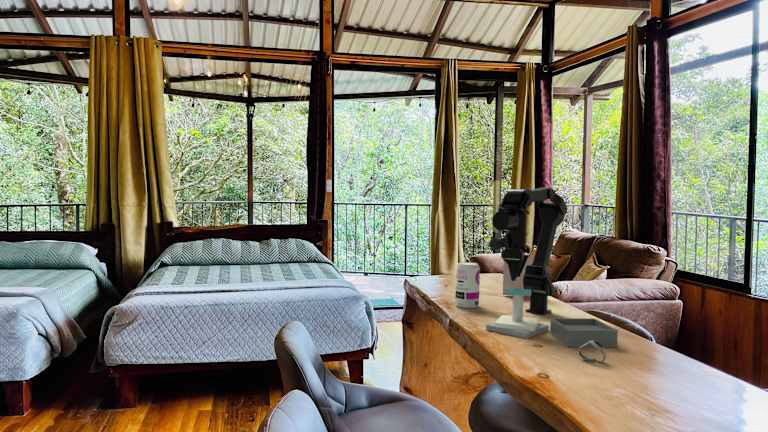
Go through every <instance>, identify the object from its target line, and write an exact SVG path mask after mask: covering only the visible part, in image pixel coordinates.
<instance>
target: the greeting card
mask: <svg viewBox="0 0 768 432" xmlns="http://www.w3.org/2000/svg"><path fill="white" fill-rule="evenodd" d="M533 261H534V258H533V257H528V259H527V262H526V264H525V266H524V268H523V271H522V273H521V275H520V277H517V278H516V280H515V281H512V280H511V276H510V272H509V267H508V264H507V263H506V262H505V261H504V260H503V266H502V267H503V268H502V269H503V271H502V274H503V275H502V296H503V295H513V294H506V288H517V289H524V286H523V277H524V274H525V269H526V266H527V265H531V264H532V263H533ZM524 297H527V296H526V295H524Z"/></svg>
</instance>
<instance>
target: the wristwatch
mask: <svg viewBox="0 0 768 432" xmlns="http://www.w3.org/2000/svg"><path fill="white" fill-rule="evenodd" d="M588 344H591V345H593V347H592V348H594V349H596V350H598V351H599V352H600V353H601V354H602V357H603V359H602V360H597V359H596V358H592V357H589V356H587V355H584V354H583V353H582V351H581V349H583V348H585V347H584V346H586V345H588ZM578 355H579V357H580V358H582V360H583V361H586V362H589V363H594V362H597V363H596V364H602V363H603V362H605V361H606V358H607V355H606V351H605V347H603V346H602V345H601V344H600V343H598V342H597V341H589V342H587V343H586V344H584V345H582V346H580V347H578Z"/></svg>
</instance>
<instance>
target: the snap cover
mask: <svg viewBox="0 0 768 432" xmlns="http://www.w3.org/2000/svg"><path fill="white" fill-rule="evenodd" d="M506 294H513V296H512V309H511V310H512V312H511V313H512V314H511V315H505V314H502V315H500V317H499V318H498V319H497V320H496V321H494V322H495V327H499V328H508V329H517V330H526V331H535V329H536V328H537V326H538V324H539V323H540V318H535V317H528V316H527V317H525V316H524V297H530V295H531V290H529V289H517V288H506ZM524 295H526V296H524Z"/></svg>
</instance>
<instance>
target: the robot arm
mask: <svg viewBox="0 0 768 432" xmlns="http://www.w3.org/2000/svg"><path fill="white" fill-rule="evenodd" d="M535 202H537V205H536V206H537V209H538V210H539V217H540V220H541V223H542V225H541V229H540V234H539V236H538V237H539V238H538V241H537V246H536V250H535V252H534V253H535V254H534V258H533V263H532V264H531V265H527V266H526V269H525V274H524V277H523V286H524V289H529V290H531V295H530V296H529V308H528V309H525V312H527V313H532V314H537V315H546V314H548V313H551V312H552V310H551V309H548V303H549V302H548V299H549V297H551V296H552V297H553V295H554V294H555V289H556V288H555V287H554V284H553V282H552V280H551V278H552V275H551V272H550V269H549V264H550V259H551V255H552V249H553V246H554V242H555V241H554V240H555V237H556V232H557V228H558V227H560V225H561V224H562V223H563V221H565V217H566V214H567V213H568V206H567V204H566V202H565V199H564V198H563V197H562V196H561V195H559V194H558V193H556V191H555V189H554V188H553V187H545V186H544V187H539V188H534V189H525V188H522V189H521V188H509V189H507V190H506V193H505V194H504V196H503V199H502V201H501V204H500V206H499V207H498V209H497V211H496V213H494V215H493V216H492V219H491V223H492V226H493V228H494V229H496V230H497V231H507V232H506V233H504V234H505V236H504V237H502V238H501V237H500V238H498V237H497V236H495V237H491V238H490V241H489V242H488V247H489V248H490V251H491V252H495V251H497V250H500V249H503V248H504V249H503V250H502V251H501V254H500V256H501V259H502V261H503V262H504V261H505V262H506V263H507V264H508V267H509V272H510V276H511V280H512V281H515V280H516V278H517V277H520V275H521V273H522V271H523V268H524V266H525V264H526V262H527V259H528V258H530V254H531V247H530V246H529V245H528V244H527V236H528V231H527V228H528V227H527V220H528V215H530V211H529V210H528V209H527V208H529V207H530V206H532V205H533V203H535Z"/></svg>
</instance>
